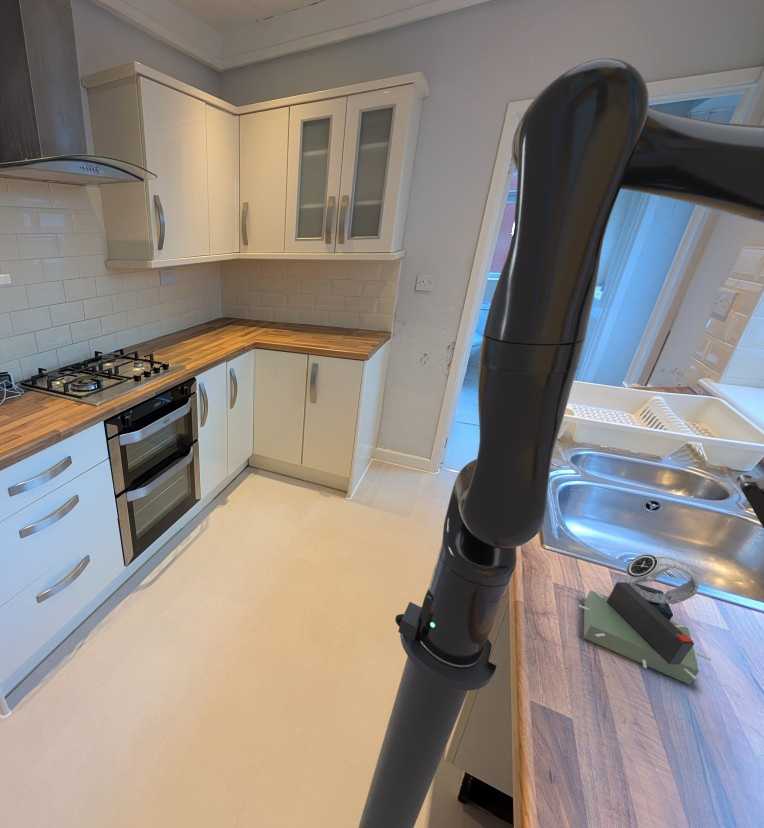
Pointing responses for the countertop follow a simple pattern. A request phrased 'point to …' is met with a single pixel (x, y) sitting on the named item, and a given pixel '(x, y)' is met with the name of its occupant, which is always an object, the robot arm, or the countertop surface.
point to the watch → (652, 568)
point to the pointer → (650, 623)
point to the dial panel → (631, 639)
